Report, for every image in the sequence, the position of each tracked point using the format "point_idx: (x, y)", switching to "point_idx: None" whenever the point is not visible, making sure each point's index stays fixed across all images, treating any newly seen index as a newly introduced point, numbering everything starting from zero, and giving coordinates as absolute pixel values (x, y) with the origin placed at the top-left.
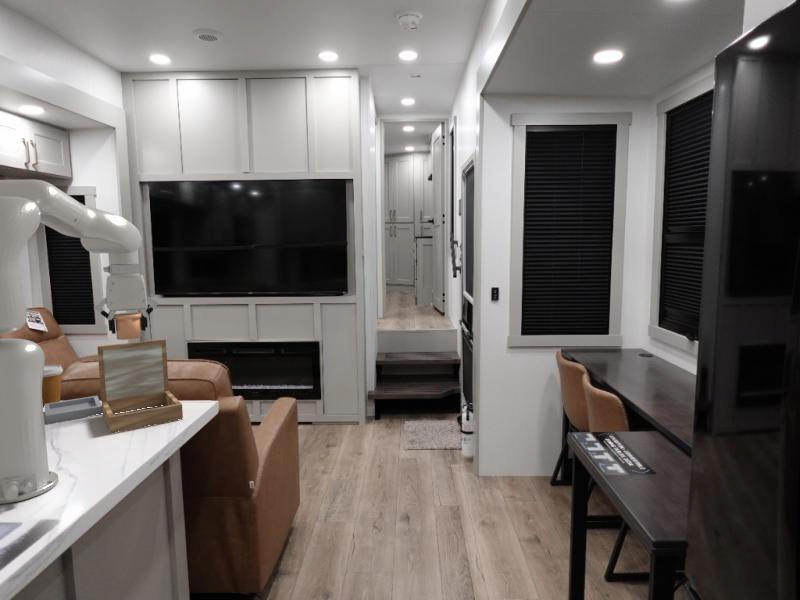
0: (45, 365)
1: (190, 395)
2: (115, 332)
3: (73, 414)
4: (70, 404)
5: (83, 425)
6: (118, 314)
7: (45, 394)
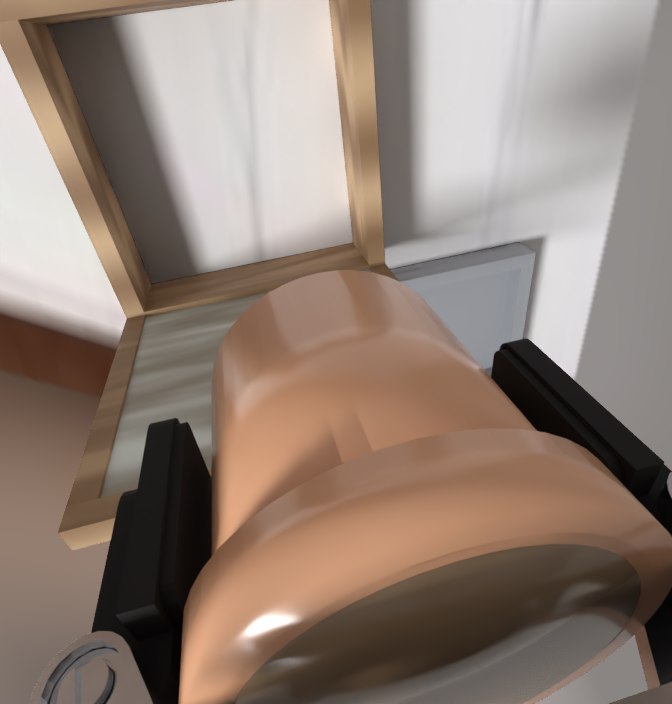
0: None
1: (69, 381)
2: (502, 353)
3: (456, 263)
4: None
5: (429, 168)
6: (595, 624)
7: None
